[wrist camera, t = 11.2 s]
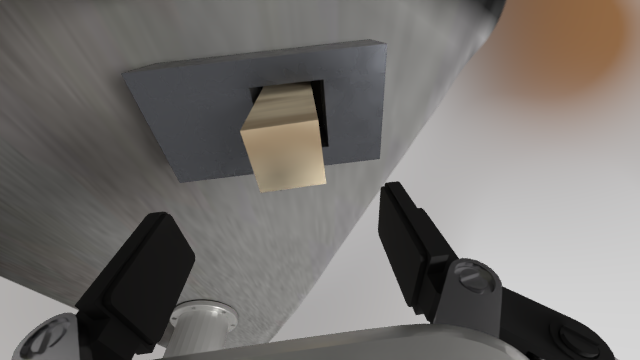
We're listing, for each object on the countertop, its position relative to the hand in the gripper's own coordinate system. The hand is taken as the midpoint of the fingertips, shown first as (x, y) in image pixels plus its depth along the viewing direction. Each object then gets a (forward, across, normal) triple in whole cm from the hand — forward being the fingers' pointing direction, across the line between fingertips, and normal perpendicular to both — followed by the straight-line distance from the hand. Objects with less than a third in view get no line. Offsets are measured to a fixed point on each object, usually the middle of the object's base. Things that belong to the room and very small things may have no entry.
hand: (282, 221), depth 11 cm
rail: (+17, +2, -1) cm, 17 cm away
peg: (+17, 0, -1) cm, 17 cm away
